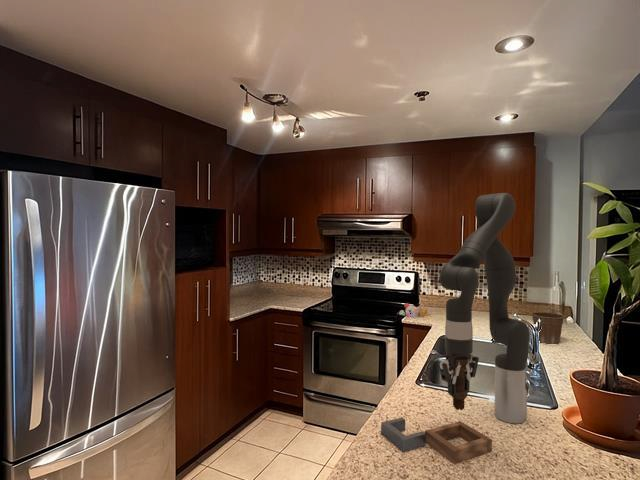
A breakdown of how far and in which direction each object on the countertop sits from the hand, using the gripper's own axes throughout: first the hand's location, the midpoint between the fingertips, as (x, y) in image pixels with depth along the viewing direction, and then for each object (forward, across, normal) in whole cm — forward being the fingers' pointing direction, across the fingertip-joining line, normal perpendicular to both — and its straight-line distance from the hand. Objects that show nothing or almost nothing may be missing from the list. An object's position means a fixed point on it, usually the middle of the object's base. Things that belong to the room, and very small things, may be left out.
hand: (458, 393), depth 113 cm
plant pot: (+17, -125, -59) cm, 139 cm away
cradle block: (+15, +12, -10) cm, 22 cm away
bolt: (+5, 0, 0) cm, 5 cm away
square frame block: (+16, 0, 0) cm, 16 cm away
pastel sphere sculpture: (+17, -101, -146) cm, 178 cm away
